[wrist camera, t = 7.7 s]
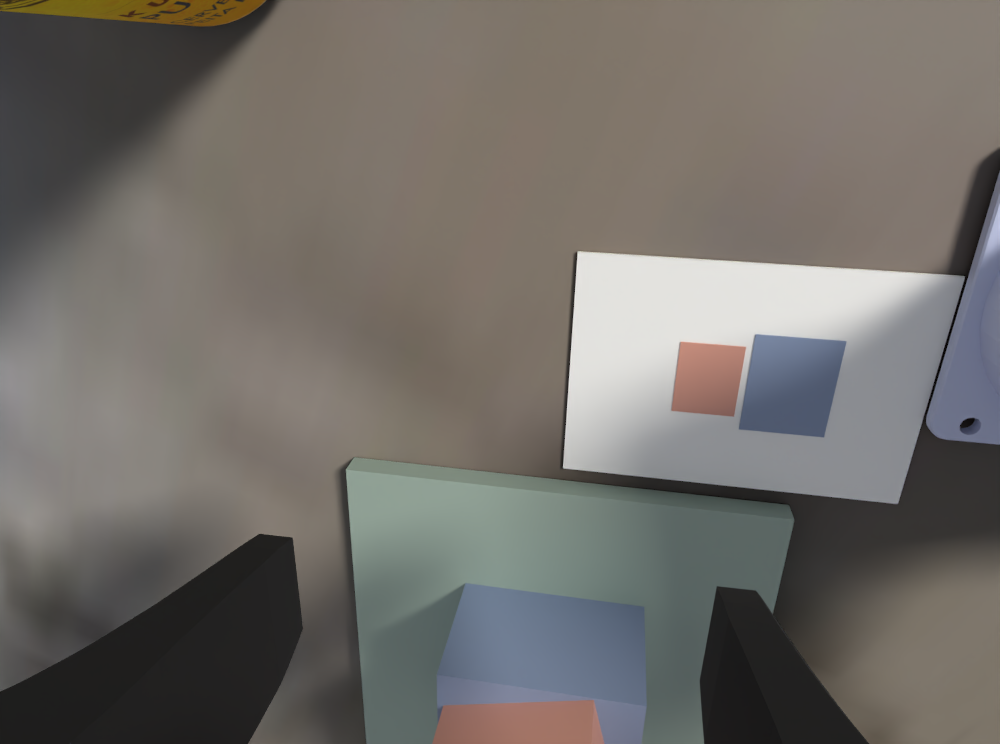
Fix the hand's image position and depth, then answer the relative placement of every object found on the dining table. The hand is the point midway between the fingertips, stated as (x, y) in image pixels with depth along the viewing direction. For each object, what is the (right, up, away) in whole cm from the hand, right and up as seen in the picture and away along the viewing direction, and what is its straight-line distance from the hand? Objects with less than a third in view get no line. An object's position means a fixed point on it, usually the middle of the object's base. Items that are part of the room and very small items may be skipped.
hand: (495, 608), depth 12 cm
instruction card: (+7, +4, +9) cm, 12 cm away
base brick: (+2, -6, +13) cm, 15 cm away
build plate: (+2, -6, +14) cm, 15 cm away
